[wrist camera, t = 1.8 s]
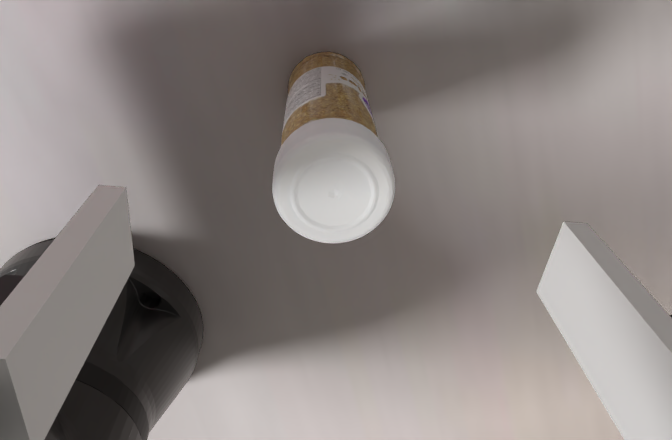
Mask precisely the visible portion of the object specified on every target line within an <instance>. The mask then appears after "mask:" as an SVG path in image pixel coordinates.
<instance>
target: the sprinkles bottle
mask: <svg viewBox="0 0 672 440" xmlns="http://www.w3.org/2000/svg"><path fill="white" fill-rule="evenodd" d="M272 194H273V199H274V203H275V206H276V208H277V211H278V213H279V215H280V216H281V218H282V219H283V220H284V222H285V223H286V224H287V225H288V226H289V227H290V228H291V229H293V230H294V231H295V232H297V233H298V234H300V235H301V236H303V237H305V238H308V239H310V240H313V241H317V242H322V243H343V242H349V241H352V240H356V239H358V238H360V237H363V236H364V235H366V234H368V233H369V232H371V231H372V230H374V229H375V228H376V227H377V226H378V225H379V224H380V223H381V222H382V221H383V220H384V218H385V217H386V216H387V214H388V212H389V211H390V208H391V206H392V203H393V200H394V195H395V177H394V173H393V169H392V165H391V161H390V158H389V156H388V153H387V151H386V149H385V147H384V145H383V143H382V142H381V141H380V140H379V138H378V137H377V133H376V127H375V122H374V119H373V116H372V113H371V109H370V105H369V101H368V98H367V94H366V92H365V83H364V80H363V77H362V75H361V72H360V71H359V69H358V68H357V66H356V65H355V64H354V63H353V62H352V61H350V60H349V59H348V58H346V57H344V56H343V55H341V54H337V53H333V52H320V53H316V54H313V55H310V56H307V57H306V58H305V59H303V60H302V61H301V62H300V63H299V64H298V65H297V66H296V67H295V69H294V70H293V72H292V74H291V76H290V79H289V86H288V97H287V102H286V109H285V116H284V123H283V130H282V138H281V148H280V150H279V152H278V154H277V157H276V160H275V166H274V172H273V183H272Z"/></svg>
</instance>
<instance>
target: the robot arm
mask: <svg viewBox="0 0 672 440" xmlns="http://www.w3.org/2000/svg"><path fill="white" fill-rule="evenodd" d="M536 292H537V294H538V295H539V297H540V299H541V301H542V302H543V304H544V306H545V307H546V309H547V311H548V312H549V314H550V316H551V317H552V319H553V321H554V322H555V324H556V326H557V327H558V329H559V331H560V333H561V334H562V336H563V338H564V339H565V341H566V343H567V344H568V346H569V348H570V349H571V351H572V353H573V354H574V356H575V358H576V359H577V361H578V363H579V365H580V366H581V368H582V370H583V371H584V373H585V375H586V376H587V378H588V380H589V381H590V383H591V385H592V386H593V388H594V390H595V392H596V393H597V395H598V397H599V398H600V400H601V402H602V403H603V405H604V407H605V408H606V410H607V412H608V413H609V415H610V417H611V418H612V420H613V422H614V424H615V425H616V427H617V429H618V430H619V432H620V434H621V435H622V437H623V439H624V440H672V315H669V314H668V313H667V312H666V311H665V310H664V309H663V308H662V306H661V305H660V304H659V303H658V302H657V301H656V300H655V299H654V298H653V296H652V295H651V294H650V293H649V292H648V291H647V290H646V289H645V287H644V286H643V285H642V284H641V283H640V282H639V281H638V280H637V278H636V277H635V276H634V275H633V274H632V273H631V272H630V271H629V270H628V268H627V267H626V266H625V265H624V264H623V263H622V262H621V261H620V259H619V258H618V257H617V256H616V255H615V254H614V253H613V252H612V251H611V249H610V248H609V247H608V246H607V245H606V244H605V243H604V242H603V240H602V239H601V238H600V237H599V236H598V235H597V234H596V233H595V232H594V230H593V229H592V228H591V227H590V226H589V225H588V224H587V223H578V222H565V221H563V224H562V227H561V229H560V232H559V234H558V237H557V239H556V242H555V245H554V247H553V250H552V252H551V255H550V258H549V260H548V263H547V265H546V268H545V270H544V273H543V276H542V278H541V281H540V283H539V286H538V289H537V291H536ZM202 338H203V322H202V317H201V313H200V310H199V308H198V305H197V303H196V301H195V299H194V297H193V296H192V294H191V293H190V291H189V290H188V288H187V287H186V286H185V285H184V283H183V282H182V281H181V280H180V279H179V278H178V277H177V276H176V275H175V274H174V273H173V272H171V271H170V270H169V269H168V268H166V267H165V266H164V265H162V264H161V263H159V262H158V261H156V260H155V259H153V258H151V257H149V256H148V255H146V254H144V253H142V252H139V251H137V250H135V249H133V244H132V235H131V226H130V217H129V208H128V199H127V190H126V187H116V186H103V185H98V187H97V188H96V189H95V190H94V191H93V193H92V194H91V195H90V196H89V198H88V199H87V200H86V201H85V203H84V204H83V205H82V206H81V207H80V209H79V210H78V211H77V212H76V214H75V215H74V216H73V217H72V218H71V220H70V221H69V222H68V223H67V225H66V226H65V227H64V228H63V230H62V231H61V232H60V233H59V234H58V236H57V237H56V238H55V239H54V240H49V241H45V242H41V243H38V244H35V245H33V246H30V247H28V248H26V249H24V250H22V251H20V252H19V253H17V254H16V255H14V256H13V257H12V258H11V259H9V260H8V261H7V262H6V263H5V264H4V265H3V267H2V268H1V269H0V440H147V438H148V435H149V432H150V431H151V429H152V428H153V427H154V425H155V424H156V423H157V421H158V420H159V419H160V417H161V416H162V415H163V413H164V412H165V411H166V409H167V408H168V407H169V406H170V404H171V403H172V402H173V400H174V399H175V398H176V396H177V395H178V394H179V392H180V391H181V390H182V388H183V387H184V385H185V384H186V383H187V381H188V380H189V378H190V376H191V375H192V372H193V370H194V368H195V366H196V363H197V359H198V355H199V351H200V347H201V343H202Z"/></svg>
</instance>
